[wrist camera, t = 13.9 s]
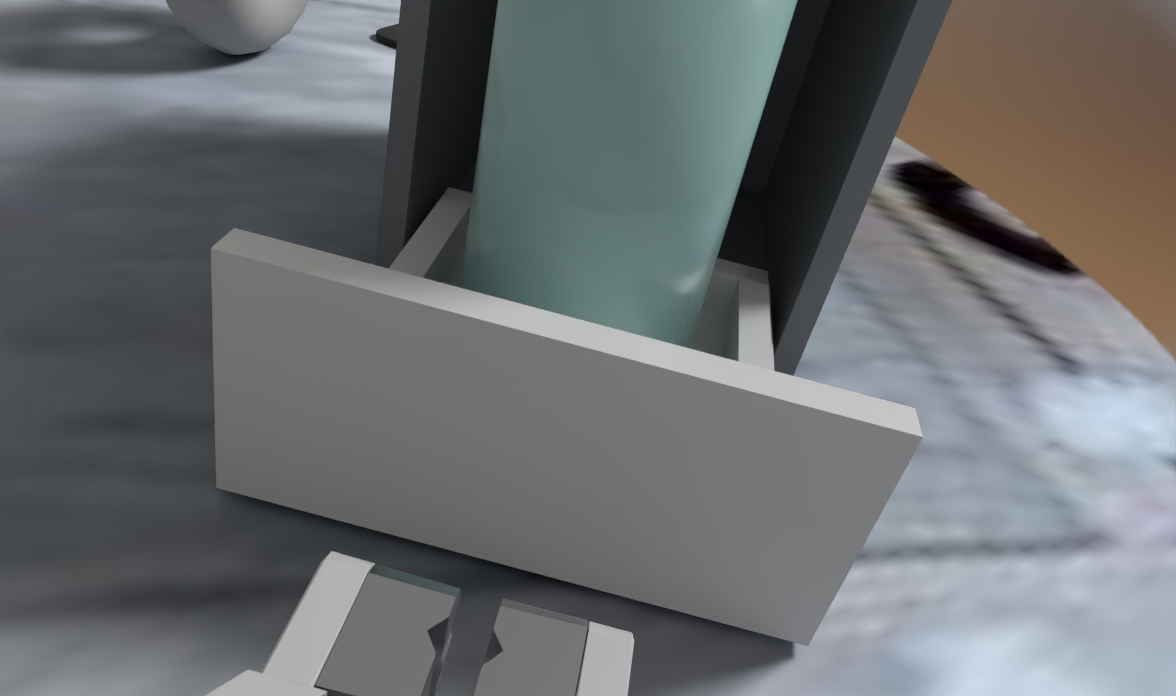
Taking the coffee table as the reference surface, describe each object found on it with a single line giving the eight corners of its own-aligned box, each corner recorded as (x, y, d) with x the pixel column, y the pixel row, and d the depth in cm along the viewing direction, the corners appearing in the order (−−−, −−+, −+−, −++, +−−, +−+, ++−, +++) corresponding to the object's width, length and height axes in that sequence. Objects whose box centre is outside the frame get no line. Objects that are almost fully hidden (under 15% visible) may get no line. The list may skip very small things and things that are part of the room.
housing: (785, 392, 25) (1024, -169, 17) (374, 283, 25) (431, -323, 18) (773, 209, 36) (915, -185, 28) (485, 133, 36) (550, -280, 28)
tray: (807, 645, 17) (922, 437, 14) (215, 487, 17) (210, 247, 15) (784, 335, 27) (849, 173, 24) (406, 235, 27) (426, 62, 24)
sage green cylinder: (568, 458, 18) (687, -37, 13) (405, 325, 21) (448, -128, 15) (723, 372, 22) (865, -39, 16) (567, 270, 24) (647, -112, 19)
